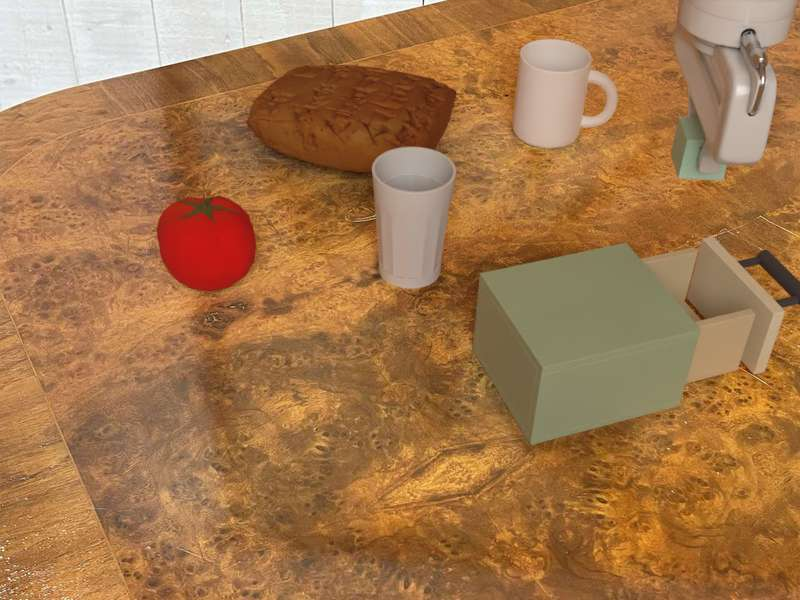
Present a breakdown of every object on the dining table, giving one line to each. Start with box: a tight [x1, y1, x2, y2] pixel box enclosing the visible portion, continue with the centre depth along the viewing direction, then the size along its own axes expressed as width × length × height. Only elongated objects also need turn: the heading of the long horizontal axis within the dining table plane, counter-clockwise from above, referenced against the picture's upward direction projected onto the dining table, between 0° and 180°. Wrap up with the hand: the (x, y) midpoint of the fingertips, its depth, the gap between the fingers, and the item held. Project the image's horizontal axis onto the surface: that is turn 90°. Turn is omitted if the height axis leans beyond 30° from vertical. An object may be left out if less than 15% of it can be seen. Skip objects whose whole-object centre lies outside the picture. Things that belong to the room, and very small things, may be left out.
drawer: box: [640, 235, 800, 384], centre depth 97 cm, size 19×11×7 cm, turn 110°
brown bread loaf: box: [246, 64, 458, 174], centre depth 122 cm, size 22×17×8 cm
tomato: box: [156, 195, 257, 292], centre depth 104 cm, size 9×10×8 cm
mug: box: [511, 38, 619, 150], centre depth 126 cm, size 12×8×10 cm
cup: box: [371, 147, 457, 290], centre depth 104 cm, size 8×8×12 cm
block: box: [670, 116, 728, 181], centre depth 94 cm, size 4×4×4 cm
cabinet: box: [471, 242, 701, 446], centre depth 94 cm, size 15×13×9 cm
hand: (700, 152), depth 94 cm, fingers closed on block, 4 cm apart
